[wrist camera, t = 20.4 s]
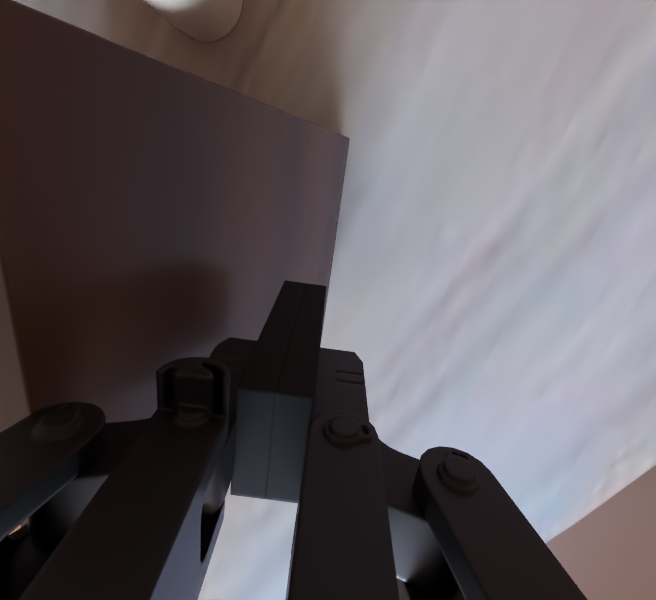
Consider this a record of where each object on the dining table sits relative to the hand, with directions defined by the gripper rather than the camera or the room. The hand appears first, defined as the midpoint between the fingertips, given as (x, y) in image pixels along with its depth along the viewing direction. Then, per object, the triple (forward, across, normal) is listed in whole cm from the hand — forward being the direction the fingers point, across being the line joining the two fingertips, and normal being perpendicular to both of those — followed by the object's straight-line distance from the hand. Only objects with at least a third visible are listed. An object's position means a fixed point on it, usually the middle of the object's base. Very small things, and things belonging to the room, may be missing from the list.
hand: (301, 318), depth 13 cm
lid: (+3, -2, 0) cm, 3 cm away
